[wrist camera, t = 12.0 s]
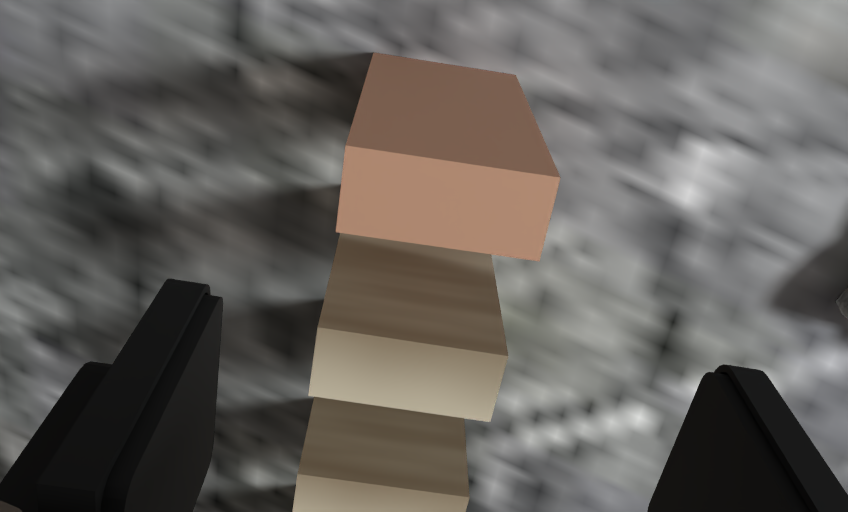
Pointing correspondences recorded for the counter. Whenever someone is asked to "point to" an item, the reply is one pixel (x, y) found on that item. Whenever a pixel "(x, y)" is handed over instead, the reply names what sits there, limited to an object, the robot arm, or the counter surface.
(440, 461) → the domino
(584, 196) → the counter surface
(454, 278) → the domino
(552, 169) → the domino
